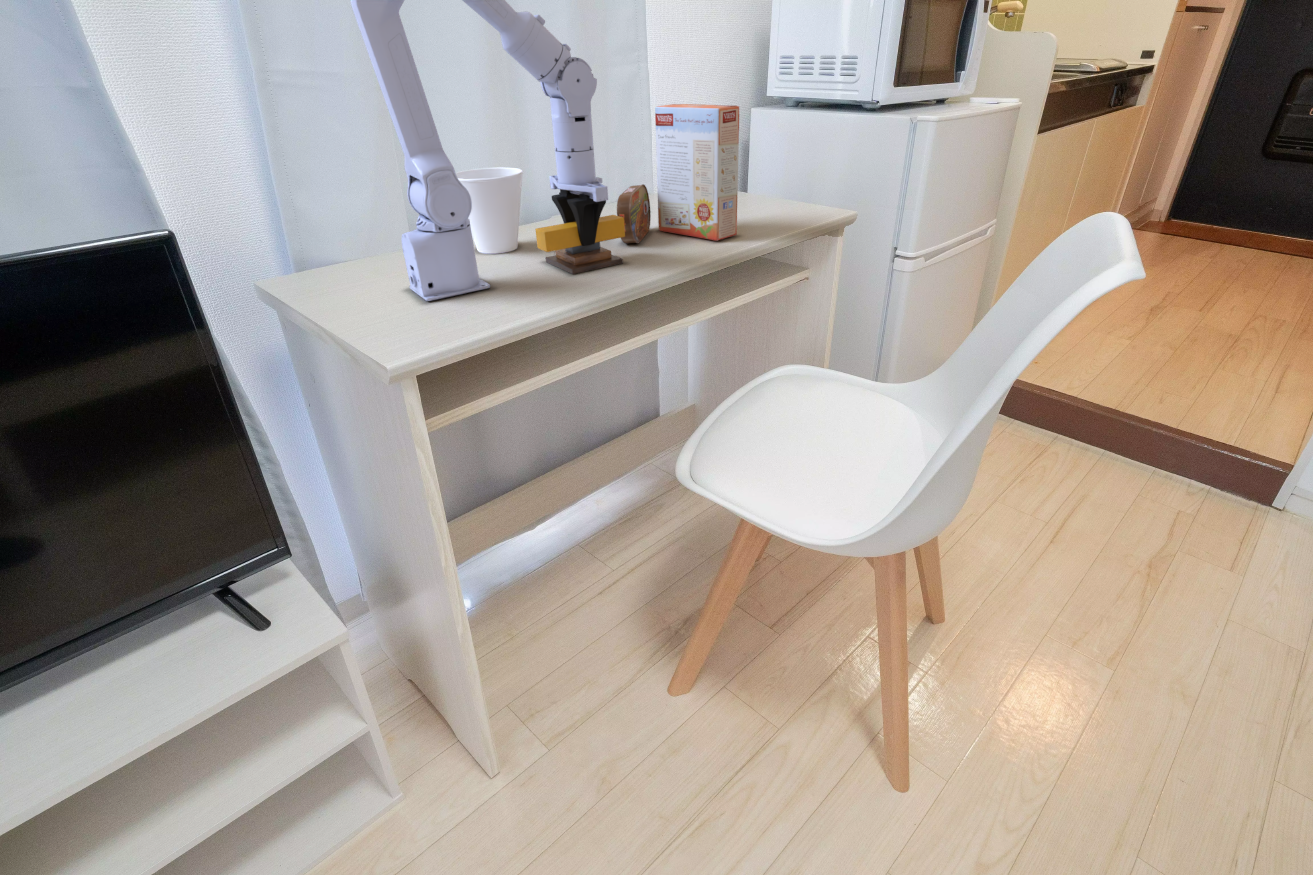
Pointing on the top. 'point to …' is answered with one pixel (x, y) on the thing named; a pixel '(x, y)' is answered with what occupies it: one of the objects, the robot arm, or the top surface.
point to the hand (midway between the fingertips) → (582, 242)
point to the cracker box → (697, 169)
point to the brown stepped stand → (583, 258)
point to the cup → (494, 207)
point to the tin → (634, 213)
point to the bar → (568, 233)
